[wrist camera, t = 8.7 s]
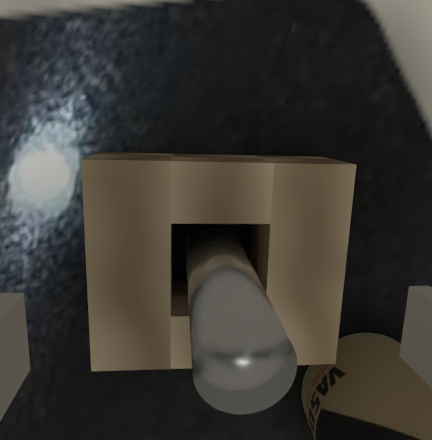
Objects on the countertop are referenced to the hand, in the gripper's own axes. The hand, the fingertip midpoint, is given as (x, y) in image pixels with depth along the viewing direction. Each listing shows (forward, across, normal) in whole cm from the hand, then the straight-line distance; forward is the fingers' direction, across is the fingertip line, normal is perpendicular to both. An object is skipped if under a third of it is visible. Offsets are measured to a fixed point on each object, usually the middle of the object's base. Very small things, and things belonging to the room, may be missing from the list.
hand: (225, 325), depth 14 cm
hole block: (+10, 0, 0) cm, 10 cm away
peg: (+10, 0, 0) cm, 10 cm away
